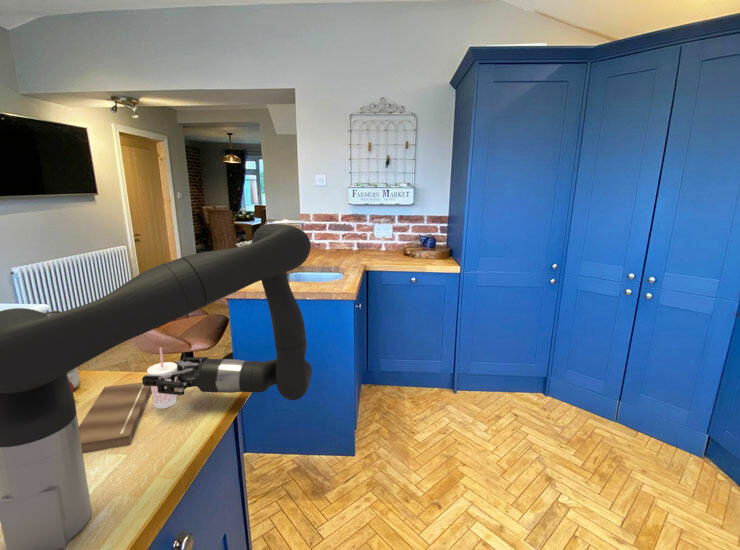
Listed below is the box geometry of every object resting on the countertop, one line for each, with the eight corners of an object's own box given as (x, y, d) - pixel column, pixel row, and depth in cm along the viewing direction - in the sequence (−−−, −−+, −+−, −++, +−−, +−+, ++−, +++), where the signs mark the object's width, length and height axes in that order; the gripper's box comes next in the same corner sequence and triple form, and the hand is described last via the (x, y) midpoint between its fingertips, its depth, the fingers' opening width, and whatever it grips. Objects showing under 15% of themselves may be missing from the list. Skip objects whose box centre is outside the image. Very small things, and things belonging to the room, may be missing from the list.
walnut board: (169, 437, 73) (169, 428, 73) (67, 455, 67) (66, 445, 67) (184, 381, 95) (183, 374, 94) (107, 391, 89) (106, 383, 88)
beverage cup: (182, 394, 89) (178, 341, 86) (177, 408, 83) (172, 352, 80) (154, 397, 87) (149, 343, 84) (147, 411, 81) (141, 354, 78)
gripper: (235, 347, 90) (167, 345, 89) (210, 376, 76) (130, 373, 75) (236, 375, 91) (169, 373, 91) (212, 407, 77) (134, 405, 77)
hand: (152, 373), depth 83 cm, fingers closed on beverage cup, 6 cm apart
